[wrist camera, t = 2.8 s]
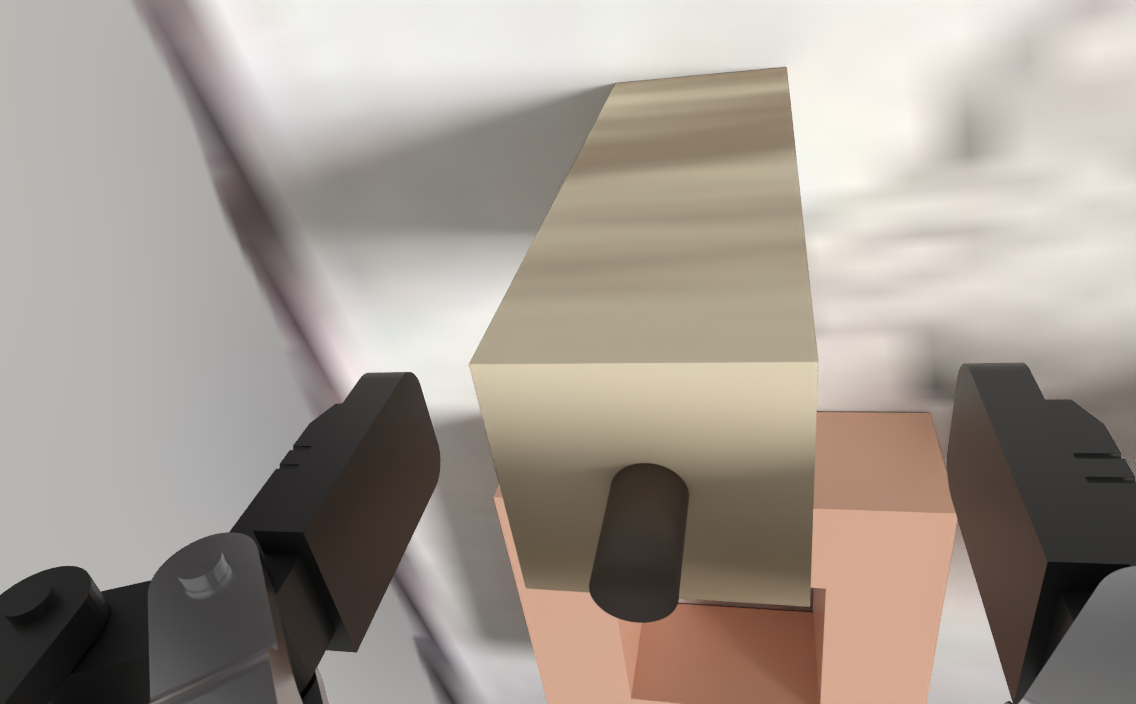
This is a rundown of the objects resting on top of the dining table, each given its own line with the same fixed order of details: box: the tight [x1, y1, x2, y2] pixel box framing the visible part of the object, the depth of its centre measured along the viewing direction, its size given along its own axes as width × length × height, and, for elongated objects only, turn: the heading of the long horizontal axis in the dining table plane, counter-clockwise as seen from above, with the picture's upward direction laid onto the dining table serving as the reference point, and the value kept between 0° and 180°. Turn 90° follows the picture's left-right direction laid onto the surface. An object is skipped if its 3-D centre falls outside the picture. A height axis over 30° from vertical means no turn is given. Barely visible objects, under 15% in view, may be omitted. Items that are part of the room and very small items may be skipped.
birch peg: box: [469, 67, 818, 623], centre depth 14 cm, size 4×4×14 cm
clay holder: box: [494, 412, 958, 704], centre depth 26 cm, size 12×12×4 cm
